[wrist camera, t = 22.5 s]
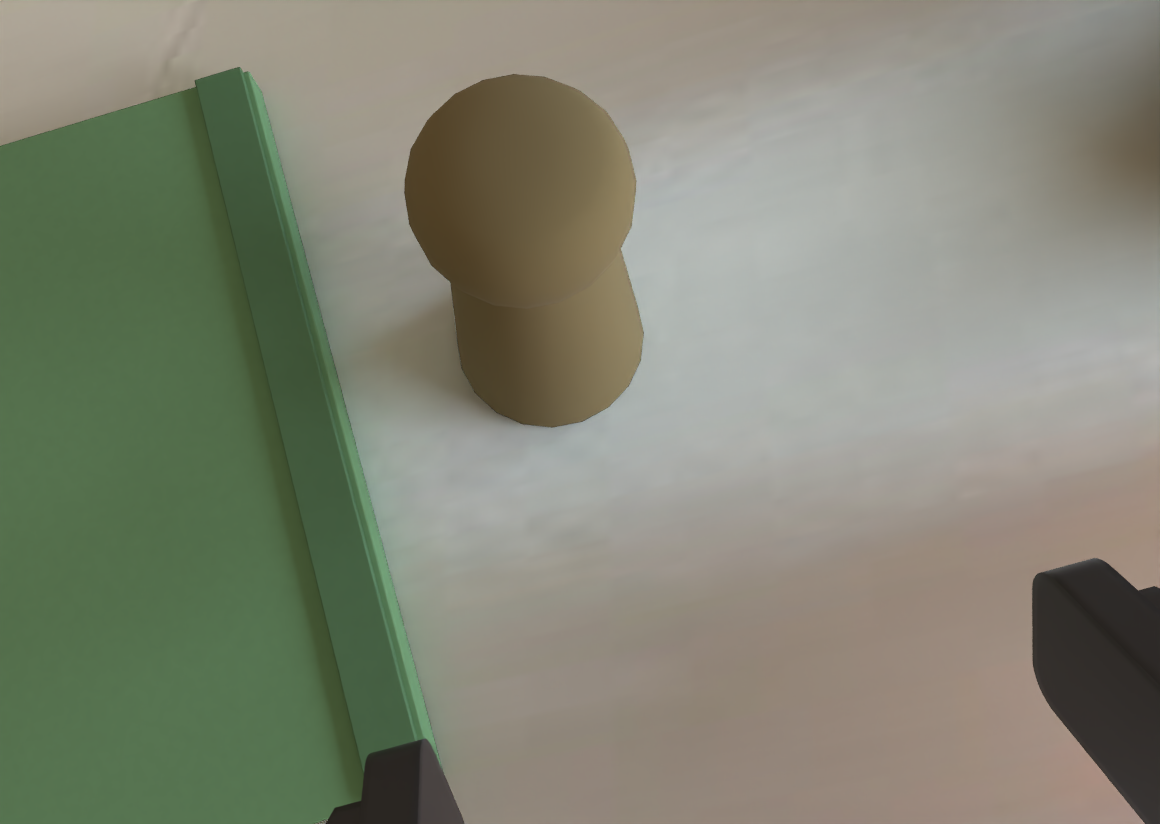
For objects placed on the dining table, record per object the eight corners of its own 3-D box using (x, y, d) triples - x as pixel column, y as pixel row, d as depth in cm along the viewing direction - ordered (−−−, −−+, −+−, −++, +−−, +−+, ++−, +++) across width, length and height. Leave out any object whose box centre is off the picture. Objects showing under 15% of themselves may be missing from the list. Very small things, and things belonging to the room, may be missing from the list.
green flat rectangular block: (-98, 200, 32) (-132, 177, 30) (261, 91, 33) (245, 64, 31) (-4, 931, 25) (-41, 947, 24) (444, 777, 26) (434, 782, 25)
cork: (457, 431, 29) (363, 291, 18) (457, 256, 30) (372, 35, 20) (648, 423, 29) (666, 276, 18) (638, 247, 30) (649, 20, 20)
